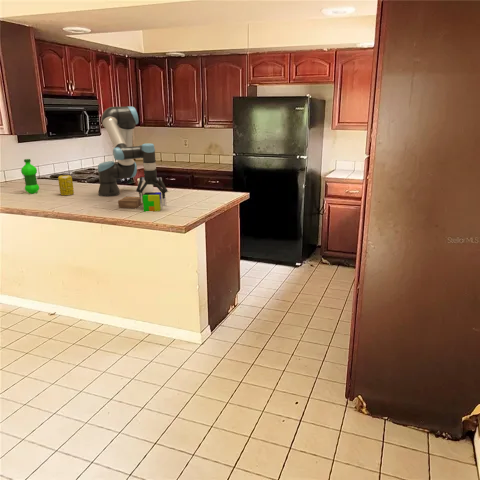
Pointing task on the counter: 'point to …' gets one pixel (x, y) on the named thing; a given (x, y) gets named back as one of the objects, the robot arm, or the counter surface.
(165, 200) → the beige wooden block
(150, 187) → the jar
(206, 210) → the counter surface
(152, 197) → the puzzle toy
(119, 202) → the walnut block
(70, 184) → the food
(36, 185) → the plastic bottle
